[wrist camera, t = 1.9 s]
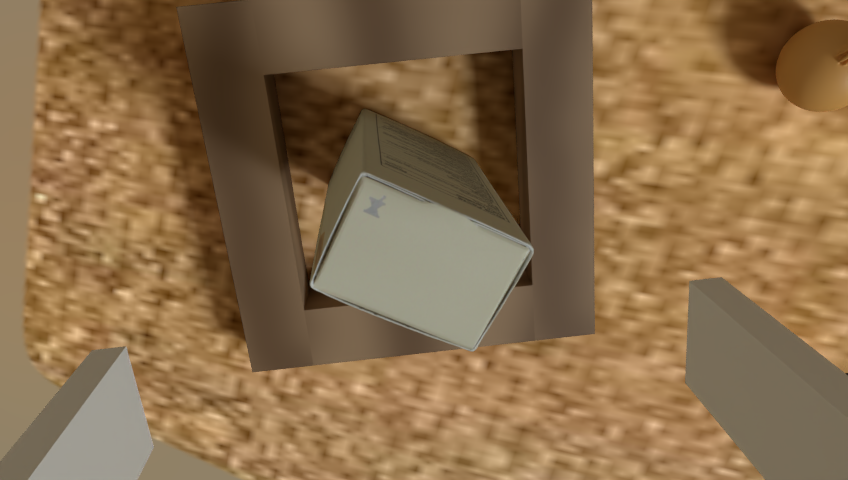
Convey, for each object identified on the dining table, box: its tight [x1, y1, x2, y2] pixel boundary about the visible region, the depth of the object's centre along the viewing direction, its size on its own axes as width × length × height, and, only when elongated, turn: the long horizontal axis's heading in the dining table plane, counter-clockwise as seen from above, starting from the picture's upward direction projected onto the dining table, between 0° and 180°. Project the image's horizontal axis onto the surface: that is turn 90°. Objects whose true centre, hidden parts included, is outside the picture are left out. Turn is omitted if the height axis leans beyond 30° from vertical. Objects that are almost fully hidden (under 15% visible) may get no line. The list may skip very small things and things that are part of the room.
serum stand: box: [176, 0, 595, 372], centre depth 31 cm, size 17×17×2 cm
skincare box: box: [310, 109, 534, 351], centre depth 27 cm, size 6×4×12 cm
